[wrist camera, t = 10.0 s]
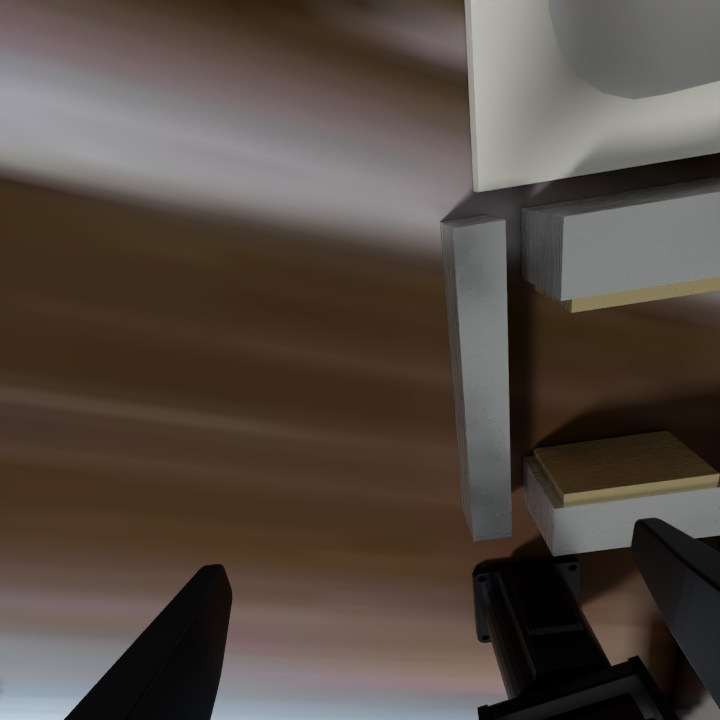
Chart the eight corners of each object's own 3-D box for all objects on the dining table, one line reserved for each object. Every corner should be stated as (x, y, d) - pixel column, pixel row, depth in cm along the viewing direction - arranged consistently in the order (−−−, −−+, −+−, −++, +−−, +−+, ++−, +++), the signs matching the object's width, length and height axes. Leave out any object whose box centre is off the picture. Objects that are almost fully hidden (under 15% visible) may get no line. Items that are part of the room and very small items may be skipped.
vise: (665, 480, 24) (720, 535, 21) (462, 507, 25) (481, 565, 21) (712, 177, 18) (805, 177, 14) (440, 221, 19) (461, 233, 15)
